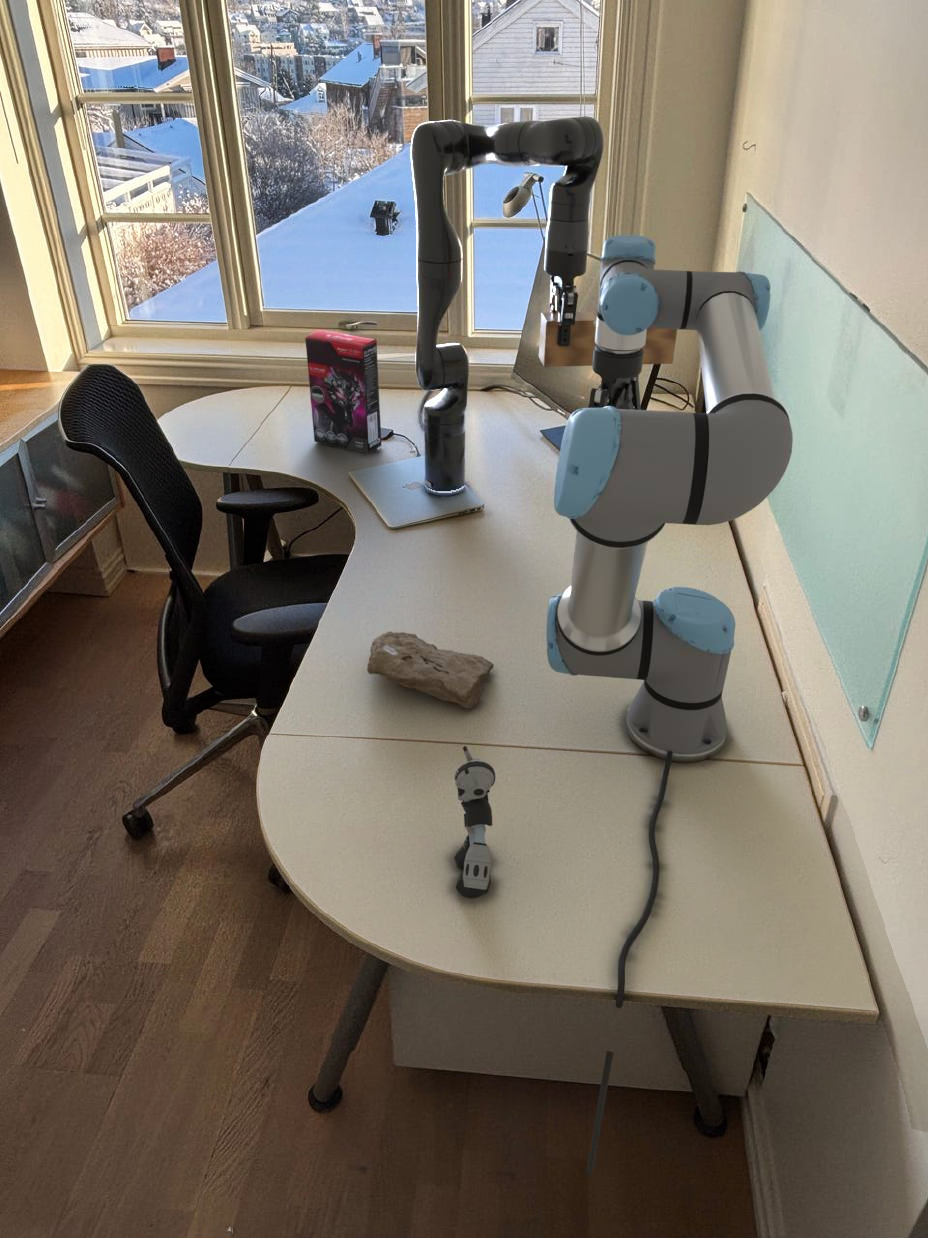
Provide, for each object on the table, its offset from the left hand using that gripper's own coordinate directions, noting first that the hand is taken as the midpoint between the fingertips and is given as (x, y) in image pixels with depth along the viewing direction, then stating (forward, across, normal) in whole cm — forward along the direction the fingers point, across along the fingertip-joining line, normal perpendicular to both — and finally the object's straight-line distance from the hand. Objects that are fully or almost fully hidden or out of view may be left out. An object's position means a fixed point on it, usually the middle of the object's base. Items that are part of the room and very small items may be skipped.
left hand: (559, 339), depth 172 cm
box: (+4, 0, +9) cm, 10 cm away
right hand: (+12, +34, +2) cm, 36 cm away
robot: (+41, +89, -25) cm, 102 cm away
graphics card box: (+42, -51, -42) cm, 78 cm away
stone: (+41, +48, -29) cm, 70 cm away
